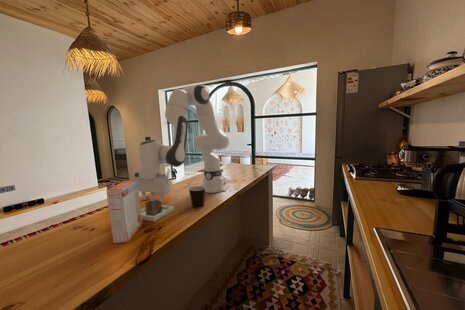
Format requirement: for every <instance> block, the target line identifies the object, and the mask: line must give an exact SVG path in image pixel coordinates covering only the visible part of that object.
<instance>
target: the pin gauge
mask: <svg viewBox="0 0 465 310" xmlns="http://www.w3.org/2000/svg"><path fill="white" fill-rule="evenodd" d="M155 199H156V193H152V192H150V200H151V203H154V202H156V200H157V199H156V200H155Z"/></svg>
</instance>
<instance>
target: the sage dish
mask: <svg viewBox="0 0 465 310" xmlns="http://www.w3.org/2000/svg"><path fill="white" fill-rule="evenodd" d="M173 212H175V206H172V205H164V204H162V212H160V213H159V214H157V215H155V216H153V215H147V214H146V209H145V207H144V208H142V209H141V217H142V221H147V222H152V223H155V222H157V221H159V220H161V219H162V218H165V217H166V216H168V215H169V214H171V213H173Z"/></svg>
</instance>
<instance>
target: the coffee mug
mask: <svg viewBox="0 0 465 310" xmlns="http://www.w3.org/2000/svg"><path fill="white" fill-rule="evenodd" d="M188 191H189V197H190V203H191V208H193V209H201V208H203V207H204V206H205V195H206V192H205V187H203V185H197V186H192V187H189V189H188Z"/></svg>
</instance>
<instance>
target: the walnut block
mask: <svg viewBox="0 0 465 310" xmlns="http://www.w3.org/2000/svg"><path fill="white" fill-rule="evenodd" d="M155 200H156V202H154V203H151V199H150V200H148V201H146V202H144V208H145V209H146V214H147V215H153V216H155V215H157V214H159V213H160V212H162V205H163V203H162V202H163V201H162V202H158V199H156V198H155Z"/></svg>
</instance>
